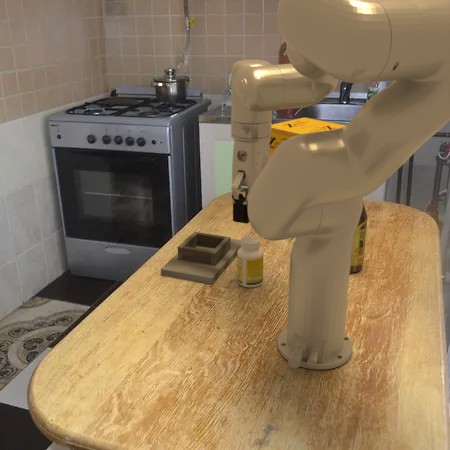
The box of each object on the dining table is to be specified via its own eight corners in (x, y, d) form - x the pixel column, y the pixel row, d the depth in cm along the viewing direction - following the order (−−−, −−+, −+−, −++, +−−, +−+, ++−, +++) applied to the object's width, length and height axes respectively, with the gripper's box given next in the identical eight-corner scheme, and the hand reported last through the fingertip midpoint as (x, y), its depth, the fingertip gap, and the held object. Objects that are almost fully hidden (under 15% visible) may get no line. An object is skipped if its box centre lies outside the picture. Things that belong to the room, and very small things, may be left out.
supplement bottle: (267, 279, 116) (268, 237, 113) (254, 290, 112) (255, 247, 108) (245, 273, 119) (245, 232, 115) (232, 284, 115) (232, 241, 111)
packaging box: (307, 236, 137) (313, 137, 127) (261, 218, 148) (263, 126, 138) (347, 219, 147) (355, 126, 137) (301, 203, 158) (305, 117, 148)
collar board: (212, 284, 115) (211, 265, 113) (160, 275, 119) (159, 256, 117) (244, 246, 132) (244, 229, 130) (199, 239, 136) (198, 222, 134)
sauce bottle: (363, 275, 118) (371, 187, 110) (333, 272, 119) (340, 185, 111) (362, 261, 124) (370, 177, 116) (334, 259, 125) (340, 175, 117)
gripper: (255, 142, 95) (253, 232, 102) (283, 120, 109) (279, 200, 116) (214, 138, 97) (215, 226, 104) (247, 117, 112) (246, 195, 119)
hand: (249, 212), depth 110 cm, fingers open, 9 cm apart
